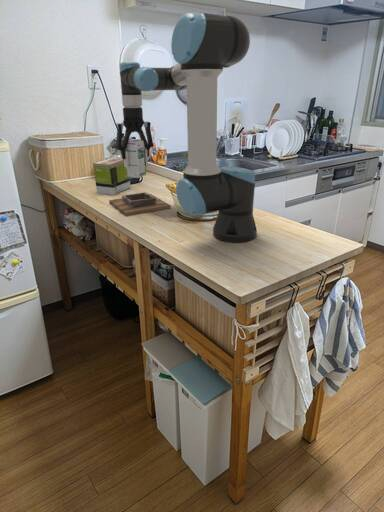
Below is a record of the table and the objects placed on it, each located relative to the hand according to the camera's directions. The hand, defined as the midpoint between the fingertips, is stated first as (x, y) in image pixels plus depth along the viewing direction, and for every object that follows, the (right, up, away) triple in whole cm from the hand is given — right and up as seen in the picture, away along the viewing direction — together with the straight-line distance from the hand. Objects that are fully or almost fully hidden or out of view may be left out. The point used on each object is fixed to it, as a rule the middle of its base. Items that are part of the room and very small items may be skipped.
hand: (136, 166), depth 155 cm
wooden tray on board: (0, -16, +7) cm, 17 cm away
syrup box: (0, -4, +2) cm, 4 cm away
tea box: (-16, -5, +30) cm, 35 cm away
